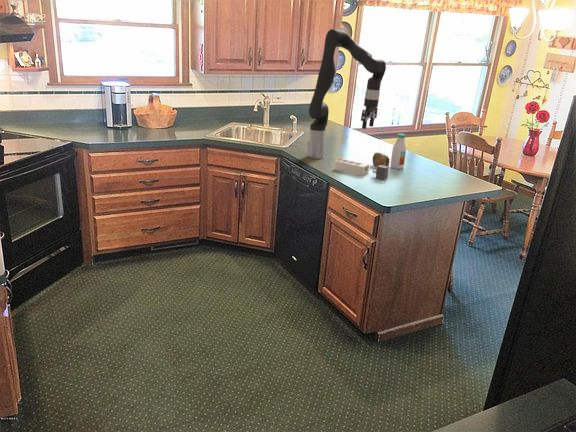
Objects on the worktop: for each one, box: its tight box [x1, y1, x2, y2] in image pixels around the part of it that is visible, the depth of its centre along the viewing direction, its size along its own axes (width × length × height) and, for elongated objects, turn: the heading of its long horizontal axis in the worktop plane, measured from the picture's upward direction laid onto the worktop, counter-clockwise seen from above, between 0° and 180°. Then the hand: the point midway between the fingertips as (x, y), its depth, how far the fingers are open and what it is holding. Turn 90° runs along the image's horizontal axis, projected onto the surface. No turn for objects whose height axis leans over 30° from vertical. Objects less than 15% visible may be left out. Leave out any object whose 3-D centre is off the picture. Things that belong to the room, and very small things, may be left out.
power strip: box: [334, 157, 370, 177], centre depth 282 cm, size 18×7×6 cm, turn 55°
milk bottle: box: [389, 133, 407, 170], centre depth 292 cm, size 8×8×20 cm
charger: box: [372, 165, 390, 180], centre depth 273 cm, size 8×4×6 cm, turn 55°
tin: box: [372, 152, 390, 168], centre depth 291 cm, size 15×3×8 cm, turn 21°
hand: (367, 127), depth 275 cm, fingers open, 8 cm apart
